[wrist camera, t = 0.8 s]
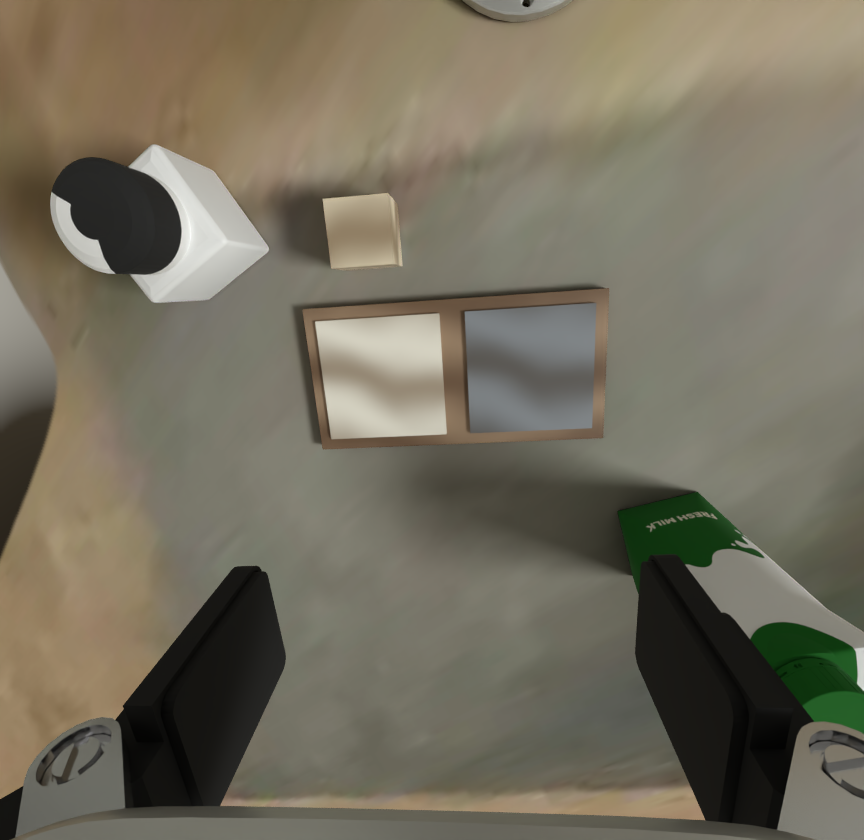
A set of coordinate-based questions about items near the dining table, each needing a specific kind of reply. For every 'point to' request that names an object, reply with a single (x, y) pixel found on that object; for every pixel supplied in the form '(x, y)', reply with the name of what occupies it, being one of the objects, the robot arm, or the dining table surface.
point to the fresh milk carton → (758, 603)
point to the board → (460, 369)
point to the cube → (363, 232)
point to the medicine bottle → (155, 224)
